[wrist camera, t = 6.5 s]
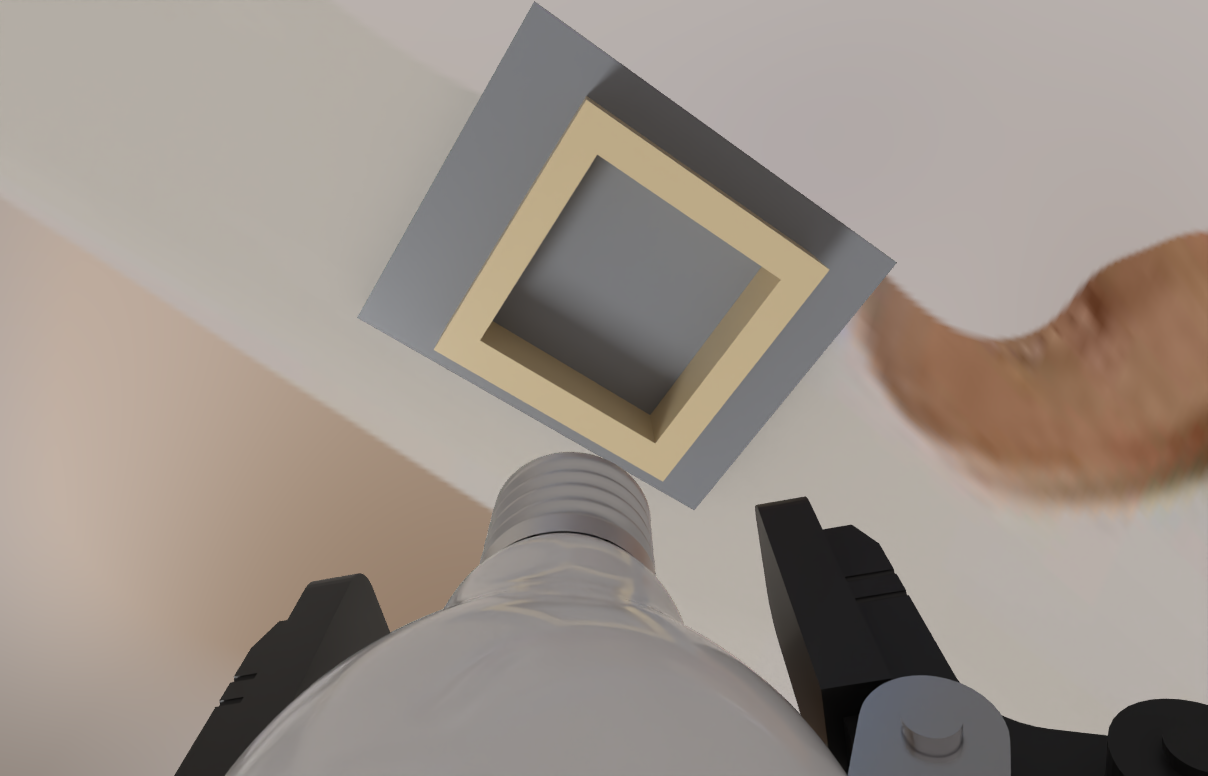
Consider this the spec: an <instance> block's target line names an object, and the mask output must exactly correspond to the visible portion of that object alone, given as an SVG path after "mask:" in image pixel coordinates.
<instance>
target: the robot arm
mask: <svg viewBox="0 0 1208 776" xmlns="http://www.w3.org/2000/svg"><path fill="white" fill-rule="evenodd" d="M755 512H756V521H757V527H758V534H759V541H760V547H761V554H762V561H763V567H764V574H765V581H766V587H767V594H768V599H769V605H770V610H771V614H772V619H773V623H774V627H775V631H776V635H777V638H778V641H779V645H780V648H781V651H782V654H783V658H784V661H785V664H786V668H787V671H788V674H789V678H790V681H791V684H792V687H793V691H794V694H795V697H796V701H797V704H798V707H799V711H800V714H801V716H802V717H803V718H804V719H805V720H806V721H807V722H808V723H809V725H810V726H811V727H812V728H813V729H814V730H815V732H816V733H817V734H818V735H819V737H820V738H821V739H822V740H823V742H824V743H825V744H826V745H827V747H828V748H829V749H830V751H831V752H832V753H833V755H834V756H835V758H836V759H837V760H838V762H839V763H840V765H841V766H842V767H843V769H844V770H845V772H846V773H847V775H848V776H1208V705H1205V704H1201V703H1198V702H1193V701H1186V700H1180V699H1153V700H1147V701H1142V702H1138V703H1136V704H1133V705H1131V706H1128V707H1127V708H1125V709H1124V710H1122V711H1121V712H1119V713H1118V715H1117V716H1116V717H1115V718H1114V719H1113V721H1112V723H1111V725H1110V727H1109V732H1108V736H1106V735H1098V734H1089V733H1080V732H1071V731H1062V730H1054V729H1047V728H1041V727H1035V726H1031V725H1027V724H1023V723H1020V722H1017V721H1014V720H1012V719H1009V718H1006V717H1004V716H1002V715H1001V714H1000V712H999V711H998V710H997V709H996V708H995V706H994V705H993V704H992V703H991V702H990V701H989V700H987V699H986V698H985V697H984V696H983V695H981V694H980V693H978V692H976V691H975V690H973V689H972V688H970V687H967V686H965V685H963V684H961V683H960V682H959V681H958V680H957V678H956V677H955V675H954V673H953V671H952V670H951V668H950V666H949V664H948V663H947V661H946V659H945V657H944V656H943V654H942V652H941V650H940V649H939V647H938V645H937V643H936V642H935V640H934V638H933V637H932V635H931V633H930V631H929V630H928V628H927V626H926V624H925V623H924V621H923V619H922V617H921V616H920V614H919V612H918V610H917V609H916V607H915V605H914V603H913V602H912V600H911V598H910V597H909V595H908V596H907V594H906V590H905V588H904V586H903V584H902V583H901V581H900V579H899V577H898V576H897V574H895V573H894V569H893V567H892V565H891V563H890V562H889V560H888V558H887V557H886V555H885V553H884V551H883V550H882V548H881V546H880V544H879V543H877V542H876V541H875V540H873V539H872V538H870V537H869V536H867V535H866V534H864V533H863V532H862V531H860V530H859V529H857V528H856V527H854V526H853V525H847V526H841V527H835V528H829V529H823V530H822V527H821V525H820V523H819V521H818V519H817V517H816V515H815V513H814V510H813V508H812V506H811V504H810V502H809V500H808V498H807V497H800V498H794V499H788V500H783V501H777V502H771V503H765V504H760V505H756V506H755ZM389 633H390V631H389V629H388V626H387V623H386V621H385V618H384V616H383V613H382V610H381V608H380V606H379V603H378V600H377V598H376V595H375V593H374V590H373V588H372V585H371V583H370V581H369V580H368V578H367V577H366V576H365V575H363V574H354V575H348V576H342V577H336V578H330V579H325V580H319V581H313V582H311V583H310V584H308V585H307V587H306V588H305V590H304V592H303V593H302V595H301V597H300V599H299V600H298V602H297V604H296V606H295V608H294V609H293V611H292V613H291V615H290V617H289V618H288V620H286V621H279V622H278V623H277V624H276V625H275V626H274V627H273V628H272V629H271V630H270V631H269V632H268V633H267V634H266V635H264V636H263V637H262V638H261V639H260V640H259V641H258V642H257V643H256V644H255V645H254V646H253V647H252V648H251V649H250V651H249V652H248V654H247V656H246V657H245V659H244V661H243V662H242V664H241V666H240V668H239V669H238V671H237V672H236V674H235V676H234V682H232V683H230V684H229V686H228V687H227V689H226V691H225V692H224V694H223V696H222V697H221V699H220V706H219V707H215V709H214V711H213V712H212V714H211V716H210V717H209V719H208V721H207V722H206V724H205V726H204V727H203V729H202V731H201V732H200V734H199V735H198V737H197V739H196V740H195V742H194V744H193V745H192V747H191V749H190V750H189V752H188V754H187V755H186V757H185V759H184V760H183V762H182V764H181V766H180V767H179V769H178V770H177V772H176V774H175V775H174V776H224V775H225V774H226V772H227V771H228V770H229V769H230V767H231V766H232V765H233V764H234V762H235V761H236V760H237V759H238V757H239V756H240V755H241V754H242V752H243V751H244V750H245V749H246V748H247V747H248V746H249V744H250V743H251V742H252V741H253V740H254V739H255V738H256V737H257V735H258V734H259V733H260V732H261V731H262V730H263V729H264V728H265V727H266V726H267V725H268V724H269V723H270V722H271V721H272V720H273V719H274V718H275V717H276V716H277V715H278V714H279V713H280V712H281V711H282V710H283V709H284V708H285V707H286V706H287V705H288V704H289V703H290V702H292V701H293V700H294V699H295V698H296V697H297V696H298V695H299V694H301V693H302V692H303V691H304V690H305V689H306V688H308V687H309V686H310V685H311V684H313V683H314V682H315V681H316V680H318V679H319V678H320V677H321V676H323V675H324V674H325V673H327V672H328V671H329V670H331V669H332V668H334V667H335V666H336V665H338V664H339V663H341V662H342V661H344V660H345V659H347V658H348V657H349V656H351V655H353V654H354V653H356V652H357V651H359V650H361V649H362V648H364V647H366V646H367V645H369V644H370V643H372V642H374V641H376V640H378V639H379V638H381V637H383V636H385V635H387V634H389Z"/></svg>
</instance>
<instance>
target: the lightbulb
mask: <svg viewBox="0 0 1208 776" xmlns="http://www.w3.org/2000/svg"><path fill="white" fill-rule="evenodd" d="M224 776H848V775H847V773H846V772H845V770H844V769H843V767H842V766H841V765H840V763H839V762H838V760H837V759H836V758H835V756H834V755H833V753H832V752H831V751H830V749H829V748H828V747H827V745H826V744H825V743H824V742H823V740H822V739H821V738H820V737H819V735H818V734H817V733H816V732H815V730H814V729H813V728H812V727H811V726H810V725H809V723H808V722H807V721H806V720H805V719H804V718H803V717H802V716H801V715H800V714H799V712H798V711H797V710H796V709H795V708H794V707H793V706H792V705H791V704H790V703H789V702H788V701H787V700H786V699H785V698H784V697H783V696H782V695H781V694H780V693H779V692H778V691H777V690H776V689H774V688H773V687H772V686H771V685H770V684H769V683H768V682H767V681H765V680H764V679H763V678H762V677H761V676H760V675H758V674H757V673H756V672H755V671H753V670H752V669H751V668H750V667H748V666H747V665H746V664H745V663H743V662H742V661H741V660H739V659H738V658H737V657H735V656H734V655H732V654H731V653H730V652H728V651H727V650H725V649H724V648H722V647H721V646H719V645H718V644H716V643H715V642H713V641H711V640H710V639H708V638H707V637H705V636H703V635H702V634H700V633H698V632H696V631H695V630H693V629H691V628H689V627H688V626H686V625H684V622H683V620H682V618H681V615H680V613H679V611H678V609H677V607H676V605H675V603H674V601H673V600H672V598H671V596H670V595H669V593H668V592H667V590H666V589H665V587H664V586H663V584H662V583H661V582H660V581H659V580H658V578H657V577H656V573H655V561H654V556H653V542H652V530H651V517H650V510H649V506H648V503H647V500H646V498H645V495H644V493H643V492H642V490H641V488H640V487H639V485H638V484H637V483H636V481H635V480H634V479H633V478H632V477H631V476H630V475H629V474H628V473H627V472H626V471H625V470H623V469H622V468H620V467H619V466H617V465H616V464H614V463H612V462H610V461H608V460H606V459H604V458H601V457H598V456H595V455H591V454H586V453H578V452H562V453H554V454H550V455H546V456H543V457H540V458H537V459H535V460H532V461H531V462H529V463H527V464H525V465H524V466H522V467H521V468H519V469H518V470H517V471H516V472H515V473H514V474H512V475H511V476H510V478H509V479H508V480H507V481H506V483H505V484H504V485H503V487H502V489H501V490H500V492H499V495H498V497H497V500H496V503H495V507H494V509H493V513H492V518H491V522H490V525H489V530H488V535H487V538H486V541H485V545H484V551H483V554H482V557H481V561H480V565H479V566H477V567H476V568H475V569H474V570H473V571H472V572H471V573H470V574H469V575H468V576H467V577H466V578H465V579H464V581H463V582H462V583H461V584H460V585H459V587H458V588H457V590H456V591H455V592H454V593H453V595H452V596H451V598H450V599H449V601H448V603H447V604H446V606H445V607H444V609H443V610H440V611H437V612H435V613H432V614H430V615H427V616H425V617H422V618H420V619H418V620H416V621H413V622H411V623H409V624H407V625H405V626H403V627H401V628H399V629H396V630H395V631H393V632H390V633H389V634H387V635H385V636H383V637H381V638H379V639H378V640H376V641H374V642H372V643H370V644H369V645H367V646H366V647H364V648H362V649H361V650H359V651H357V652H356V653H354V654H353V655H351V656H349V657H348V658H347V659H345V660H344V661H342V662H341V663H339V664H338V665H336V666H335V667H334V668H332V669H331V670H329V671H328V672H327V673H325V674H324V675H323V676H321V677H320V678H319V679H318V680H316V681H315V682H314V683H313V684H311V685H310V686H309V687H308V688H306V689H305V690H304V691H303V692H302V693H301V694H299V695H298V696H297V697H296V698H295V699H294V700H293V701H292V702H290V703H289V704H288V705H287V706H286V707H285V708H284V709H283V710H282V711H281V712H280V713H279V714H278V715H277V716H276V717H275V718H274V719H273V720H272V721H271V722H270V723H269V724H268V725H267V726H266V727H265V728H264V729H263V730H262V731H261V732H260V733H259V734H258V735H257V737H256V738H255V739H254V740H253V741H252V742H251V743H250V744H249V746H248V747H247V748H246V749H245V750H244V751H243V752H242V754H241V755H240V756H239V757H238V759H237V760H236V761H235V762H234V764H233V765H232V766H231V767H230V769H229V770H228V771H227V772H226V774H225V775H224Z"/></svg>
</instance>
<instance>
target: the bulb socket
mask: <svg viewBox="0 0 1208 776" xmlns="http://www.w3.org/2000/svg"><path fill="white" fill-rule="evenodd" d="M896 263H897V262H895V261H894V260H893V259H891V258H890V257H888V256H887V255H886V254H884V253H883V252H881V251H880V250H879V249H877V248H876V247H874V246H873V245H872V244H870V243H869V242H868V241H866V240H865V239H863V238H862V237H861V236H859V235H858V234H856V233H855V232H854V231H852V230H851V229H850V228H848V227H847V226H845V225H844V224H843V223H841V222H840V221H838V220H837V219H836V218H834V217H833V216H831V215H830V214H829V213H827V212H826V211H825V210H823V209H822V208H820V207H819V206H818V205H816V204H815V203H813V202H812V201H811V200H809V199H808V198H806V197H805V196H804V195H802V194H801V193H800V192H798V191H797V190H795V189H794V188H793V187H791V186H790V185H788V184H787V183H785V182H784V181H783V180H782V179H780V178H779V177H777V176H776V175H775V174H773V173H772V172H770V171H769V170H768V169H766V168H765V167H764V166H762V165H760V164H759V163H758V162H757V161H755V160H754V159H752V158H751V157H750V156H748V155H747V154H745V153H744V152H743V151H741V150H740V149H739V148H737V147H736V146H734V145H733V144H732V143H730V142H729V141H727V140H726V139H725V138H723V137H722V136H721V135H719V134H718V133H716V132H715V131H714V130H712V129H711V128H709V127H708V126H706V125H705V124H704V123H702V122H701V121H699V120H698V119H697V118H696V117H694V116H693V115H691V114H690V113H689V112H687V111H686V110H684V109H683V108H682V107H680V106H679V105H677V104H676V103H675V102H673V101H672V100H670V99H669V98H668V97H666V96H665V95H664V94H662V93H661V92H659V91H658V90H657V89H655V88H654V87H653V86H651V85H650V84H648V83H647V82H646V81H644V80H643V79H641V78H640V77H638V76H637V75H636V74H635V73H633V72H632V71H630V70H629V69H628V68H626V67H625V66H623V65H622V64H621V63H619V62H618V61H616V60H615V59H614V58H612V57H611V56H610V55H608V54H607V53H605V52H604V51H602V50H601V49H600V48H598V47H597V46H596V45H594V44H593V43H591V42H590V41H588V40H587V39H586V38H585V37H583V36H582V35H580V34H579V33H578V32H576V31H575V30H573V29H572V28H571V27H569V26H568V25H566V24H565V23H564V22H562V21H561V20H559V19H558V18H557V17H555V16H554V15H553V14H551V13H550V12H549V11H547V10H546V9H544V8H543V7H541V6H540V5H539V4H537V3H536V2H534V3H533V5H532V7H531V8H530V10H529V12H528V14H527V15H526V17H525V19H524V21H523V23H522V25H521V26H520V28H519V30H518V32H517V33H516V35H515V37H514V39H513V41H512V42H511V44H510V46H509V48H508V49H507V51H506V53H505V55H504V57H503V58H502V60H501V62H500V64H499V65H498V67H497V69H496V71H495V73H494V74H493V76H492V78H491V80H490V82H489V83H488V85H487V87H486V89H485V90H484V92H483V94H482V96H481V98H480V99H479V101H478V103H477V105H476V107H475V108H474V110H473V112H472V114H471V115H470V117H469V119H468V121H467V123H466V124H465V126H464V128H463V130H462V132H461V133H460V135H459V137H458V139H457V140H456V142H455V144H454V146H453V148H452V149H451V151H450V153H449V155H448V157H447V158H446V160H445V162H444V164H443V165H442V167H441V169H440V171H439V173H438V174H437V176H436V178H435V180H434V182H433V183H432V185H431V187H430V189H429V190H428V192H427V194H426V196H425V198H424V199H423V201H422V203H421V205H420V207H419V208H418V210H417V212H416V214H415V215H414V217H413V219H412V221H411V223H410V224H409V226H408V228H407V230H406V232H405V233H404V235H403V237H402V239H401V240H400V242H399V244H398V246H397V248H396V249H395V251H394V253H393V255H392V257H391V258H390V260H389V262H388V264H387V265H386V267H385V269H384V271H383V273H382V274H381V276H380V278H379V280H378V282H377V283H376V285H375V287H374V289H373V290H372V292H371V294H370V296H369V298H368V299H367V301H366V303H365V305H364V307H363V308H362V310H361V312H360V314H359V315H358V317H357V318H359V319H360V320H362V321H364V322H366V323H367V324H369V325H371V326H373V327H374V328H376V329H378V330H380V331H381V332H383V333H385V334H387V335H388V336H390V337H392V338H394V339H395V340H397V341H399V342H401V343H402V344H404V345H406V346H408V347H409V348H411V349H413V350H415V351H416V352H418V353H420V354H422V355H423V356H425V357H427V358H429V359H430V360H432V361H434V362H436V363H437V364H439V365H441V366H443V367H444V368H446V369H448V370H450V371H451V372H453V373H455V374H457V375H458V376H460V377H462V378H464V379H465V380H467V381H469V382H471V383H472V384H474V385H476V386H478V387H479V388H481V389H483V390H485V391H486V392H488V393H490V394H492V395H493V396H495V397H497V398H499V399H500V400H502V401H504V402H506V403H507V404H509V405H511V406H513V407H514V408H516V409H518V410H520V411H521V412H523V413H525V414H527V415H528V416H530V417H532V418H534V419H535V420H537V421H539V422H541V423H542V424H544V425H546V426H548V427H549V428H551V429H553V430H555V431H557V432H558V433H560V434H562V435H564V436H565V437H567V438H569V439H571V440H572V441H574V442H576V443H578V444H579V445H581V446H583V447H585V448H586V449H588V450H590V451H592V452H593V453H595V454H597V455H599V456H600V457H602V458H604V459H606V460H608V461H610V462H612V463H614V464H616V465H617V466H619V467H620V468H622V469H623V470H625V471H627V472H628V473H630V474H632V475H634V476H635V477H637V478H639V479H641V480H642V481H644V482H646V483H648V484H649V485H651V486H653V487H655V488H656V489H658V490H660V491H662V492H663V493H665V494H667V495H669V496H670V497H672V498H674V499H676V500H677V501H679V502H681V503H683V504H684V505H686V506H688V507H690V508H691V509H693V510H695V509H696V508H697V506H698V505H699V504H700V503H701V501H702V500H703V499H704V498H705V497H706V495H707V494H708V493H709V492H710V490H711V489H712V488H713V487H714V486H715V484H716V483H717V482H718V481H719V479H720V478H721V477H722V476H723V475H724V473H725V472H726V471H727V470H728V468H729V467H730V466H731V465H732V464H733V462H734V461H735V460H736V459H737V457H738V456H739V455H740V454H741V453H742V451H743V450H744V449H745V448H746V446H747V445H748V444H749V443H750V442H751V440H752V439H753V438H754V437H755V435H756V434H757V433H758V432H759V431H760V429H761V428H762V427H763V426H764V424H765V423H766V422H767V421H768V420H769V418H770V417H771V416H772V415H773V413H774V412H775V411H776V410H777V409H778V407H779V406H780V405H781V404H782V402H783V401H784V400H785V399H786V398H787V396H788V395H789V394H790V393H791V391H792V390H793V389H794V388H795V387H796V385H797V384H798V383H799V382H800V380H801V379H802V378H803V377H804V376H805V374H806V373H807V372H808V371H809V369H810V368H811V367H812V366H813V365H814V363H815V362H816V361H817V360H818V358H819V357H820V356H821V355H822V354H823V352H824V351H825V350H826V349H827V347H828V346H829V345H830V344H831V343H832V341H833V340H834V339H835V338H836V336H837V335H838V334H839V333H840V332H841V330H842V329H843V328H844V327H845V325H846V324H847V323H848V322H849V321H850V319H851V318H852V317H853V316H854V314H855V313H856V312H857V311H858V310H859V308H860V307H861V306H862V305H863V303H864V302H865V301H866V300H867V299H868V297H869V296H870V295H871V294H872V292H873V291H874V290H875V289H876V288H877V286H878V285H879V284H880V283H881V281H882V280H883V279H884V278H885V277H886V275H887V274H888V273H889V272H890V270H891V269H892V268H893V267H894V265H895V264H896Z"/></svg>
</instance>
